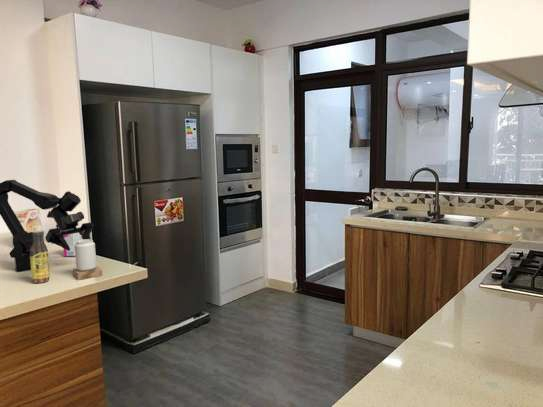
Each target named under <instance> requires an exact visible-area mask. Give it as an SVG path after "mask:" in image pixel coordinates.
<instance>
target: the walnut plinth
mask: <svg viewBox="0 0 543 407" xmlns="http://www.w3.org/2000/svg"><path fill="white" fill-rule="evenodd" d="M72 273H73V274H72V275H73V277H75V279H77V280H78V281H81V280H87V279H92V278H97V277H102V276H103V269H102V268H100V267H99V266H98V265H97V266H96V268H95V269H94V270H91V271H79V270H78V269H77V268H73V269H72Z"/></svg>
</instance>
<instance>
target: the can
mask: <svg viewBox="0 0 543 407" xmlns="http://www.w3.org/2000/svg"><path fill="white" fill-rule="evenodd" d="M74 258H75V267H76V268H75V269H78V270H79V271H91V270H94V269H95V268H96V266H98V264H97V254H96V243H95V242H94V240H93V239H91V238H90V239H84V240H83V239H80V240H79V241H76V244H75V257H74Z"/></svg>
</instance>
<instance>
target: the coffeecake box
mask: <svg viewBox="0 0 543 407" xmlns="http://www.w3.org/2000/svg"><path fill="white" fill-rule="evenodd" d="M14 213H15V215H16V216H17V218H18V220H19V221H20V223H21V225H22V227H23V228H24V230H25V231H26V232H28V233H30V232H33V231H43V228H42V216H41V208H27V209H22V210H19V211H14Z"/></svg>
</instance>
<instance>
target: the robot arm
mask: <svg viewBox="0 0 543 407" xmlns="http://www.w3.org/2000/svg"><path fill="white" fill-rule="evenodd" d="M10 192H12V193H14V194H16V195H19V196H21V197H23V198H25V199H27V200H29V201H31V202H32V203H34V204H35V206H36V207H38V209H40V210H45V211H46V210H48V212H47V215H46V218H49V219H50V218H51V219H53V220H54V222H55V223H56V225H55V227H54V228H49V230H48V232H47V234H46V235H45V236H44V237H45V241H46V243H48V244H55V245H57V246H59V247H61V248H64V249H66V250H68V251H70V247H69V245H68V244H67V242H66V241H65V239H64V236H63V235H69V234H75V233H79V234H80V239H81V240H84V239H91V235H90V234H91V233H92V231H93V229H94V228H95V226H94V224H93V222H85V223H81V226H80V227H78V226H79V223H80V222H81V221H82V222H83V220H84V219H85V214H84V212H82V211H78V212H76V213H71V214H69V213H68V212H73V211H74V210H75V208H77V206H78V205H80V204H81V202H82V200H81V198H80V196H78V195H76V194H75V193H72V192H71V191H70V190H67V191H65V193H64V194H63V195H62V196H61V197H58V196H57V195H56V194H53V193H49V192H42V191H38V190H37V189H34V188H32V187H30V186H28V185H25V184H23V183H21V182H18V180H16V179H7V180H4V181H2V182H0V217H1V219H2V220H3V221H4V223H5V225H6V227H7V228H8V230H9V232H10V233H11V235H12V244H13V247H12V249H11V250H10V251H9V256H10V258H11V259H12V258H13V259H14V264H15V265H14V269H15V271H16V272H18V273H19V272H25V271H29V270H30V271H31V262H30V249H31V246H32V245H33V236H32V232H30V233H28V232H26V231H25V230H24V228H23V227H22V225H21V223H20V221H19V220H18V218H17V216H16V215H15V213H14V212H15V211H14V210H13V208H12V206H11V205H10V203H9V194H8V193H10ZM49 209H51V210H49ZM64 249H63V250H64Z"/></svg>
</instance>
